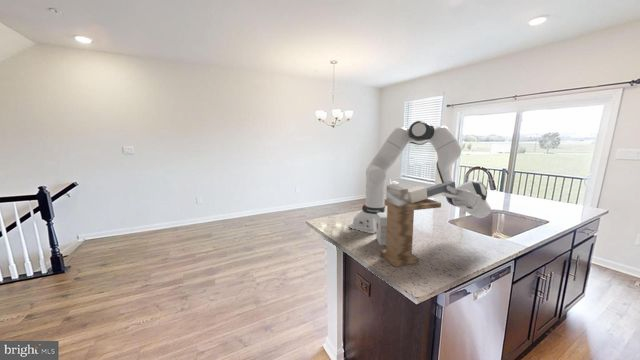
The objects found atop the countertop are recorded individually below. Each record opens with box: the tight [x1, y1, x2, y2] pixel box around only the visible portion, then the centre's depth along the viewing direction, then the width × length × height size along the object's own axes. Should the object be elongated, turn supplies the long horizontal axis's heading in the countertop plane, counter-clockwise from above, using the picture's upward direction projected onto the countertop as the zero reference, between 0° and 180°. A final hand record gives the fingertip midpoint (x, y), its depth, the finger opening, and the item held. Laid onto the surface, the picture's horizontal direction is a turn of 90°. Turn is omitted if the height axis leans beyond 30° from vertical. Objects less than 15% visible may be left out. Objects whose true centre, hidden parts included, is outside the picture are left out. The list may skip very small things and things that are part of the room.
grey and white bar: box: [407, 180, 456, 203], centre depth 109 cm, size 24×5×5 cm, turn 106°
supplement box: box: [376, 212, 387, 246], centre depth 127 cm, size 9×9×15 cm
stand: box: [379, 184, 442, 268], centre depth 109 cm, size 22×12×33 cm, turn 105°
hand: (442, 186), depth 111 cm, fingers closed on grey and white bar, 3 cm apart
